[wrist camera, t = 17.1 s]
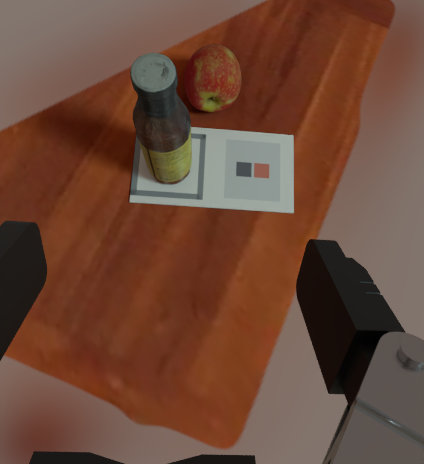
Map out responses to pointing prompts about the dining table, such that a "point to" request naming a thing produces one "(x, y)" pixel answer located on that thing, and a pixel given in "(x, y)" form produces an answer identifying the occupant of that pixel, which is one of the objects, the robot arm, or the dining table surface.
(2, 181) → the dining table surface
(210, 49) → the apple
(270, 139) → the mat
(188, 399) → the dining table surface
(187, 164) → the sauce bottle
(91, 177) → the dining table surface
